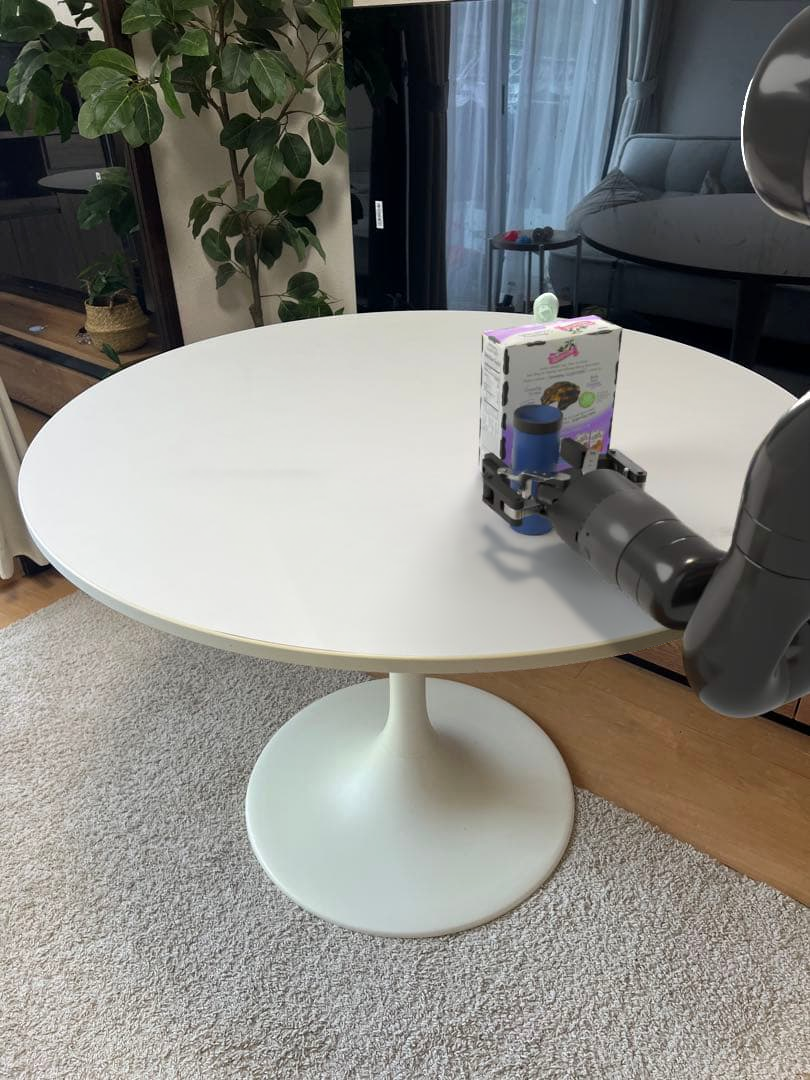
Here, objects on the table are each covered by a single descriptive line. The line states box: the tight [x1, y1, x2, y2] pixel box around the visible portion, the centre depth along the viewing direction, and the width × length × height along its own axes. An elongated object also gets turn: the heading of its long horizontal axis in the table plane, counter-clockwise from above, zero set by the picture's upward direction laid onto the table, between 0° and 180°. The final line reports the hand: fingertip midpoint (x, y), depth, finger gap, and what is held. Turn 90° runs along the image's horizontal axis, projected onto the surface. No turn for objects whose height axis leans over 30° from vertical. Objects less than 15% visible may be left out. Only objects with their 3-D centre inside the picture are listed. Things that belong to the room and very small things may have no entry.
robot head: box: [533, 292, 560, 324], centre depth 132 cm, size 8×4×7 cm, turn 178°
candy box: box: [477, 314, 624, 487], centre depth 86 cm, size 14×6×16 cm, turn 110°
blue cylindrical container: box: [508, 405, 563, 536], centre depth 77 cm, size 5×5×12 cm
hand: (525, 454), depth 78 cm, fingers open, 8 cm apart
